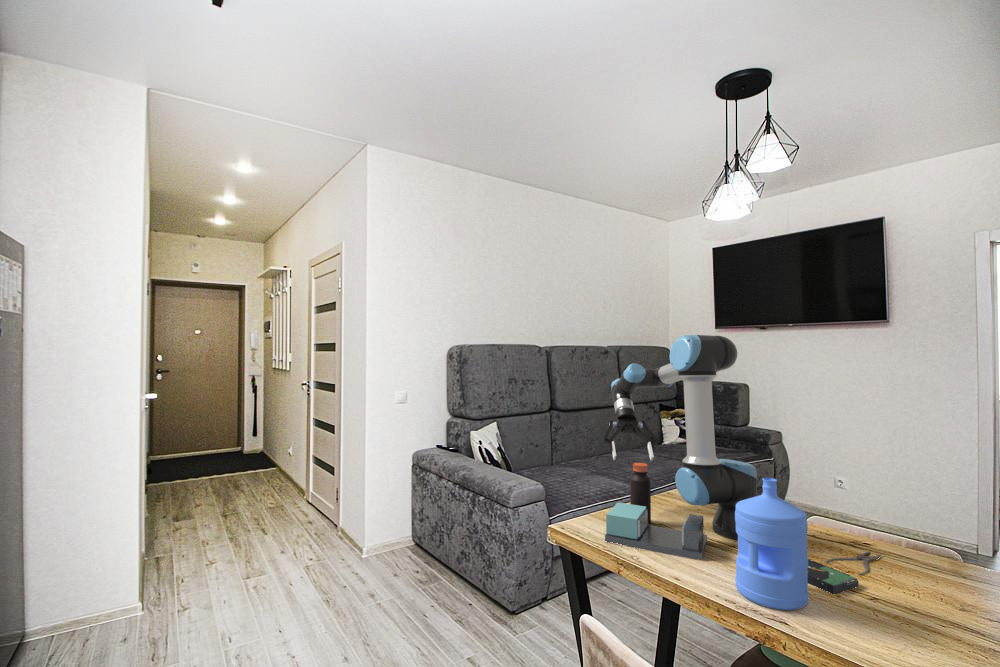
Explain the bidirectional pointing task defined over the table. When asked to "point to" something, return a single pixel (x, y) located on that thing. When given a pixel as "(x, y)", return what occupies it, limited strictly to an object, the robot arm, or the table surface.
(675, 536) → the vise base
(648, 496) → the vinegar
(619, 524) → the block
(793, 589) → the water jug
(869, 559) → the pliers
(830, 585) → the disk drive
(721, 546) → the table surface
